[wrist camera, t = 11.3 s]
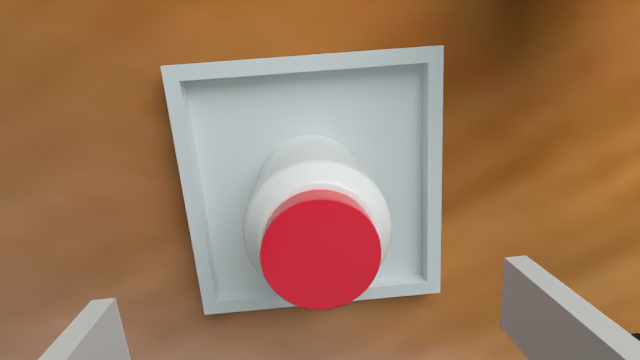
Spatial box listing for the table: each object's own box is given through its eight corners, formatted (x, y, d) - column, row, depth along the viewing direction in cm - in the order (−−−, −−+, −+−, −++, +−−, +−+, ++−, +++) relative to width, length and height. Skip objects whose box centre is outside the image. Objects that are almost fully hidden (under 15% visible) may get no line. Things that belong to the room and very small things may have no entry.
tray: (210, 301, 30) (204, 314, 28) (169, 66, 25) (160, 65, 24) (432, 280, 31) (440, 292, 29) (434, 47, 26) (443, 45, 24)
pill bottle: (386, 178, 28) (441, 242, 17) (320, 255, 29) (332, 358, 18) (304, 111, 26) (307, 136, 15) (237, 195, 27) (198, 271, 17)
